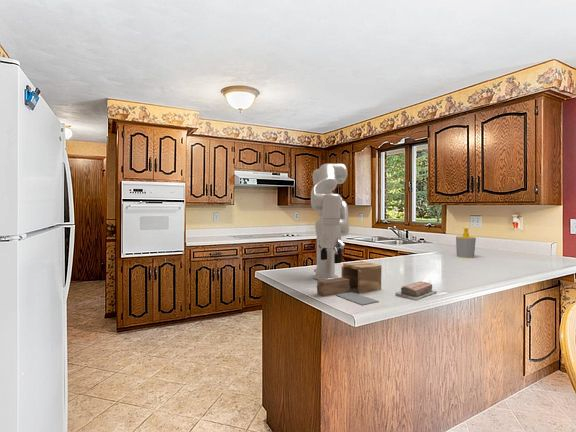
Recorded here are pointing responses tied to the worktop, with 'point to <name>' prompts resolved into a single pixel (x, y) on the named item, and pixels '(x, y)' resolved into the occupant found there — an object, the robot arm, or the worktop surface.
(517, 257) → the worktop surface
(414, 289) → the packaged product
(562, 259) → the worktop surface
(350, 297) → the grey mat
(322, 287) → the walnut block
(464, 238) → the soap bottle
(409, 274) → the worktop surface
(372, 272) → the brown squarish box
